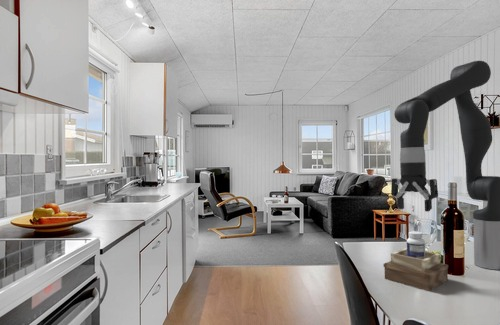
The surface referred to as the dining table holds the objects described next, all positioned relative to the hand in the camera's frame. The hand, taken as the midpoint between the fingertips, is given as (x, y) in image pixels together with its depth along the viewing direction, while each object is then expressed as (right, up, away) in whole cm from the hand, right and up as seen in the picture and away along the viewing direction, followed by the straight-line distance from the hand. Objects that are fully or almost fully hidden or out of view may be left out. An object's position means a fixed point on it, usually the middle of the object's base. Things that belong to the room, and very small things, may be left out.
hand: (414, 210), depth 106 cm
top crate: (0, -18, 0) cm, 18 cm away
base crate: (0, -23, 0) cm, 23 cm away
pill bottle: (+1, -18, 0) cm, 18 cm away
